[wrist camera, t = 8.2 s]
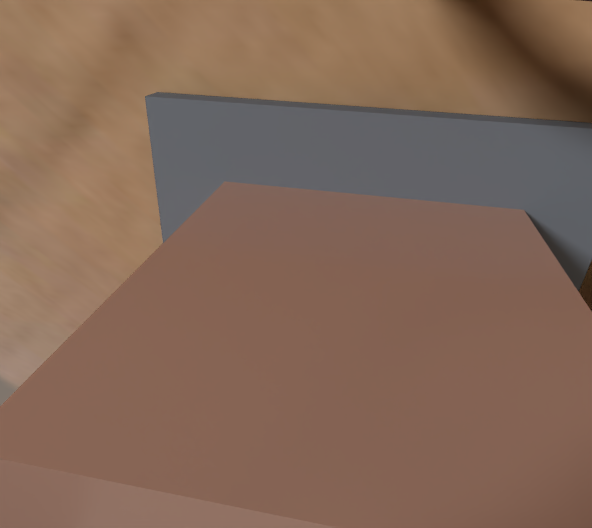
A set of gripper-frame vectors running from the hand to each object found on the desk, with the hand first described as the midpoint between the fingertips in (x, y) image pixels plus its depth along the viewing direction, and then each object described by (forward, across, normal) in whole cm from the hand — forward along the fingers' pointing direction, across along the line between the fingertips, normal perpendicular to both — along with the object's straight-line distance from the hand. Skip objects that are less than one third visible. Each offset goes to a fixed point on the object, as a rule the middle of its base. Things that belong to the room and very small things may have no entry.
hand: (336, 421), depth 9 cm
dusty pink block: (+4, 0, 0) cm, 4 cm away
